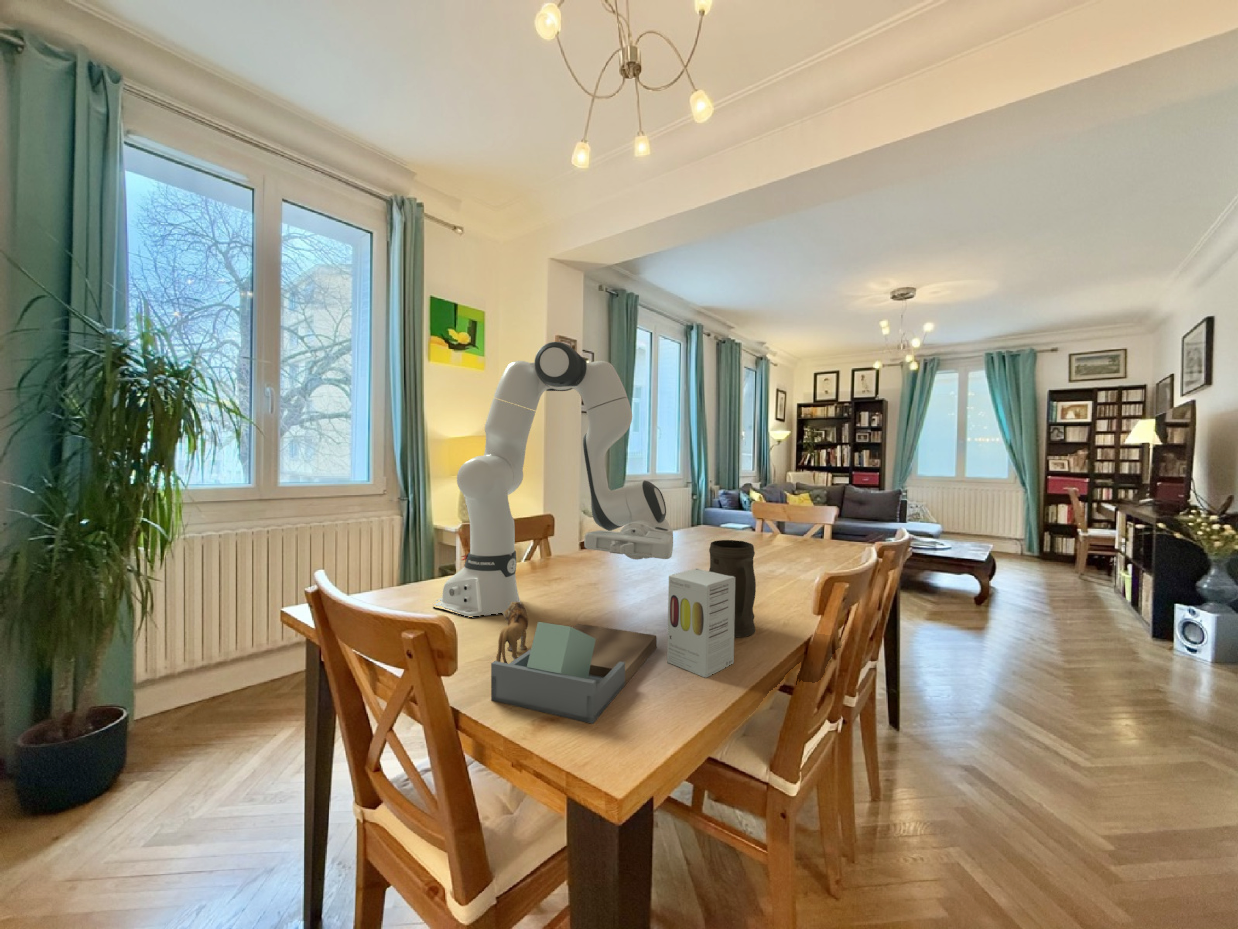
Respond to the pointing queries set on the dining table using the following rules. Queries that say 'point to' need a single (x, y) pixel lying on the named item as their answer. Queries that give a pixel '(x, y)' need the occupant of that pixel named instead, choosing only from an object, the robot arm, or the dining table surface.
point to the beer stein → (737, 579)
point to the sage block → (561, 650)
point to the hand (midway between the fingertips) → (615, 549)
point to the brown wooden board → (618, 649)
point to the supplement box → (701, 621)
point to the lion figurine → (513, 630)
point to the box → (555, 689)
